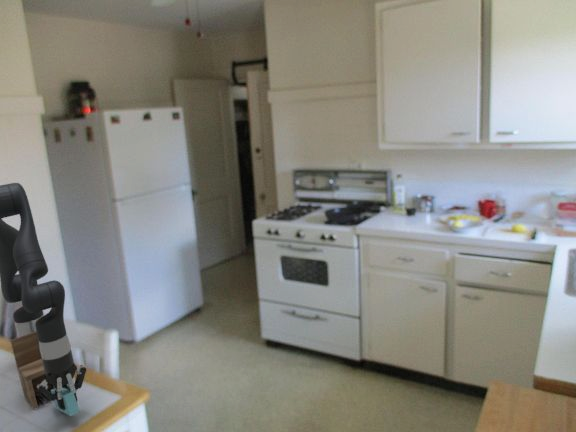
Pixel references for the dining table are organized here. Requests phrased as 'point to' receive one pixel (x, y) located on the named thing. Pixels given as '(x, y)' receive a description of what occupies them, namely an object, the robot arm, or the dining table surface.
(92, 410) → the dining table surface
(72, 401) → the panel
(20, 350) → the walnut shelf
